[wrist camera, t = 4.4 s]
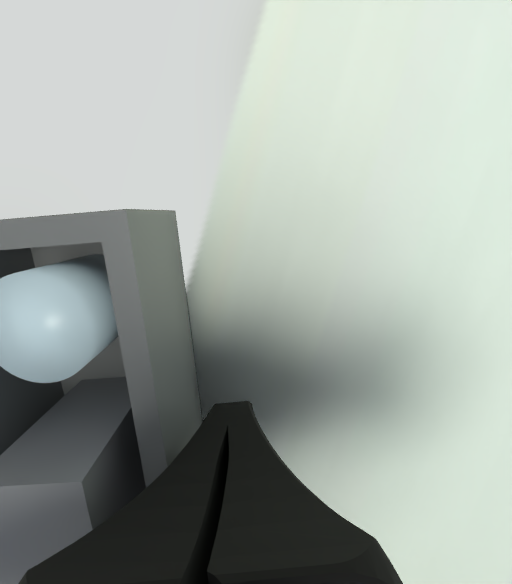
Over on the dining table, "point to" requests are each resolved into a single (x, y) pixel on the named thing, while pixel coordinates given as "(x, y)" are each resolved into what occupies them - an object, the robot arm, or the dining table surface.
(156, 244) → the tray
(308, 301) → the dining table surface
